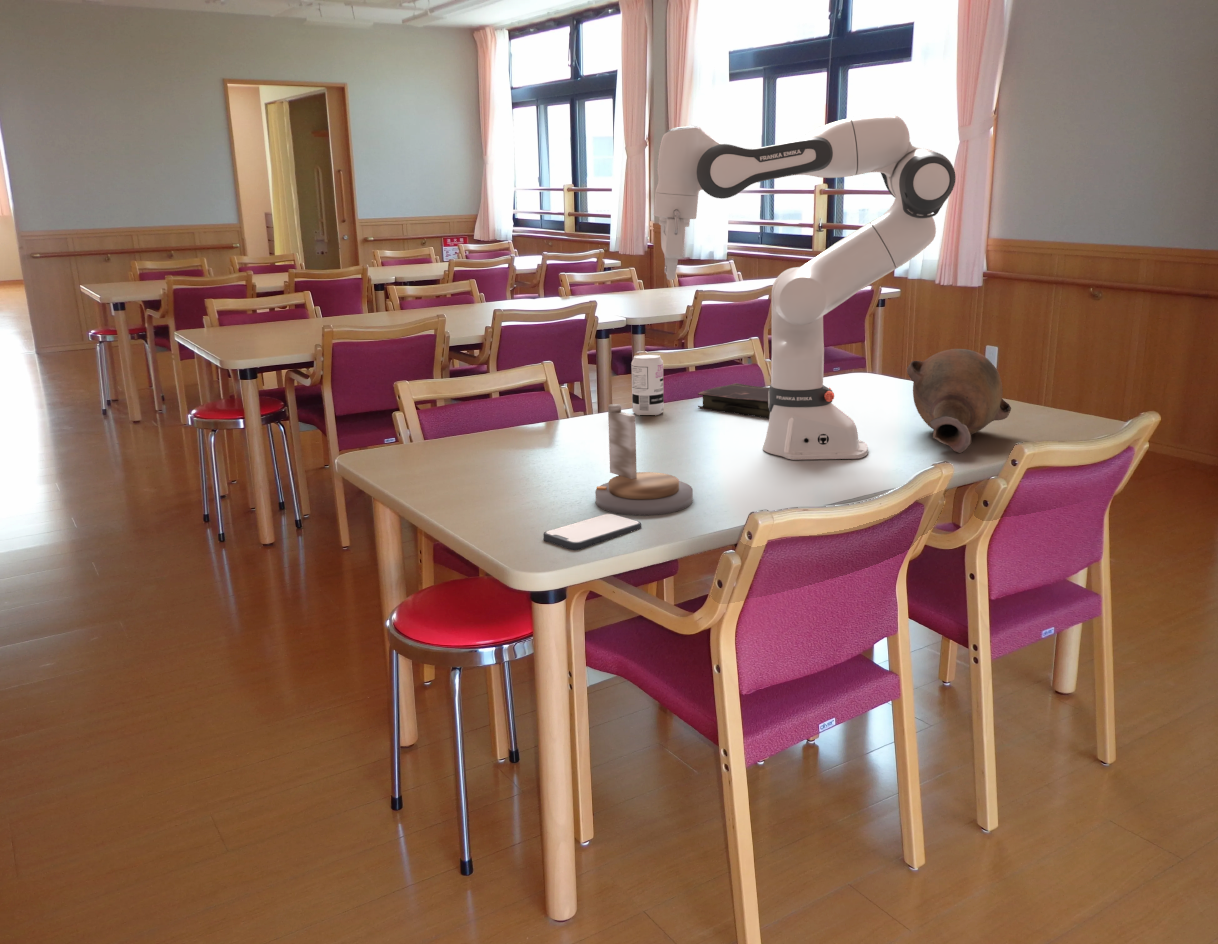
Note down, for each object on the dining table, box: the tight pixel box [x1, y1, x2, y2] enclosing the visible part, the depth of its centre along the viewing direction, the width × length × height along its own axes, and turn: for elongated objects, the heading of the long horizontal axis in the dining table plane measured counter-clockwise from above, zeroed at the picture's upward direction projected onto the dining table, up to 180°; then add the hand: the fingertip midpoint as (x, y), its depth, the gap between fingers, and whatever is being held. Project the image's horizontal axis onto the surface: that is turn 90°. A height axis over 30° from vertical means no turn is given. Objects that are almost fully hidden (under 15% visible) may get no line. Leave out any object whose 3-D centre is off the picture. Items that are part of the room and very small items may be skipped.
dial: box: [607, 403, 680, 499], centre depth 182 cm, size 16×13×15 cm
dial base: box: [594, 480, 694, 516], centre depth 184 cm, size 18×18×2 cm
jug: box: [906, 348, 1012, 454], centre depth 220 cm, size 20×20×30 cm
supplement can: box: [630, 353, 665, 416], centre depth 258 cm, size 8×8×15 cm
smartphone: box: [542, 513, 642, 551], centre depth 167 cm, size 9×2×16 cm
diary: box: [697, 382, 770, 420], centre depth 261 cm, size 19×25×5 cm
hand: (669, 276), depth 208 cm, fingers open, 8 cm apart
